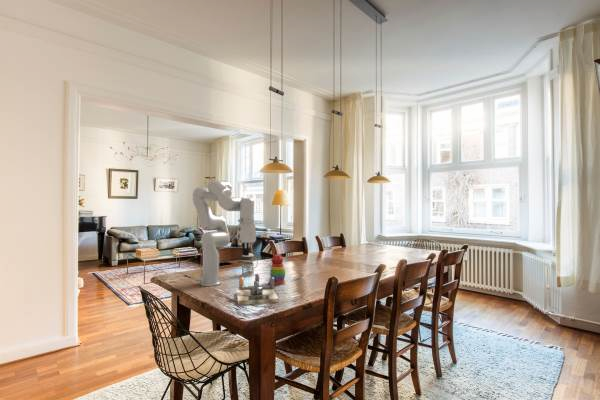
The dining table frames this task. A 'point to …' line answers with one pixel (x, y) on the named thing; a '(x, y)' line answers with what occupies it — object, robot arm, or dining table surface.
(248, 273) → the french press
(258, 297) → the stand
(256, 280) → the capstan
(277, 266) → the stacking bear
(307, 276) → the dining table surface
